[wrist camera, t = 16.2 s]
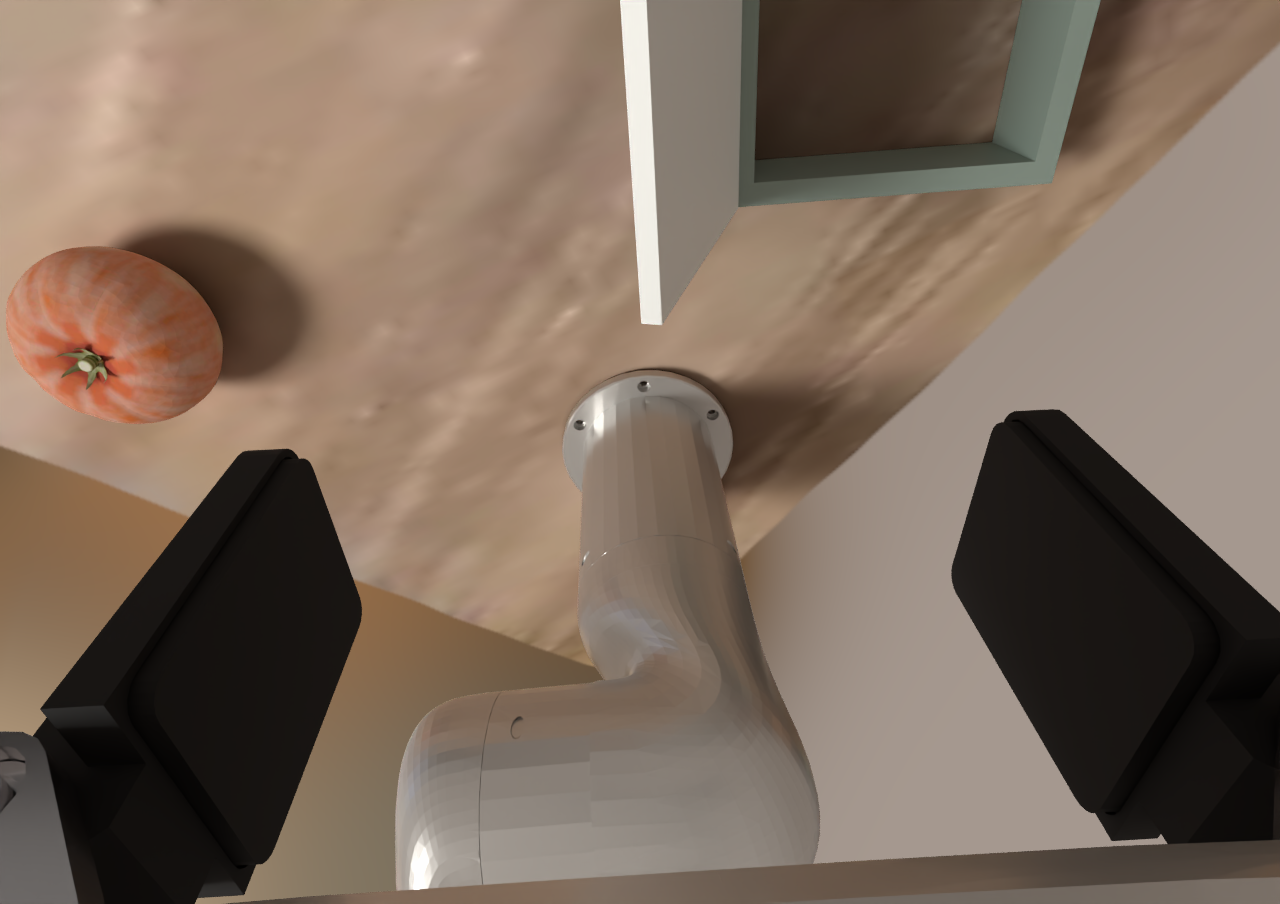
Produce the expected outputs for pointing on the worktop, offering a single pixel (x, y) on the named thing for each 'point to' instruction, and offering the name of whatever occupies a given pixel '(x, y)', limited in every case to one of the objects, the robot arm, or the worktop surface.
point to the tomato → (114, 335)
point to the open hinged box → (731, 177)
